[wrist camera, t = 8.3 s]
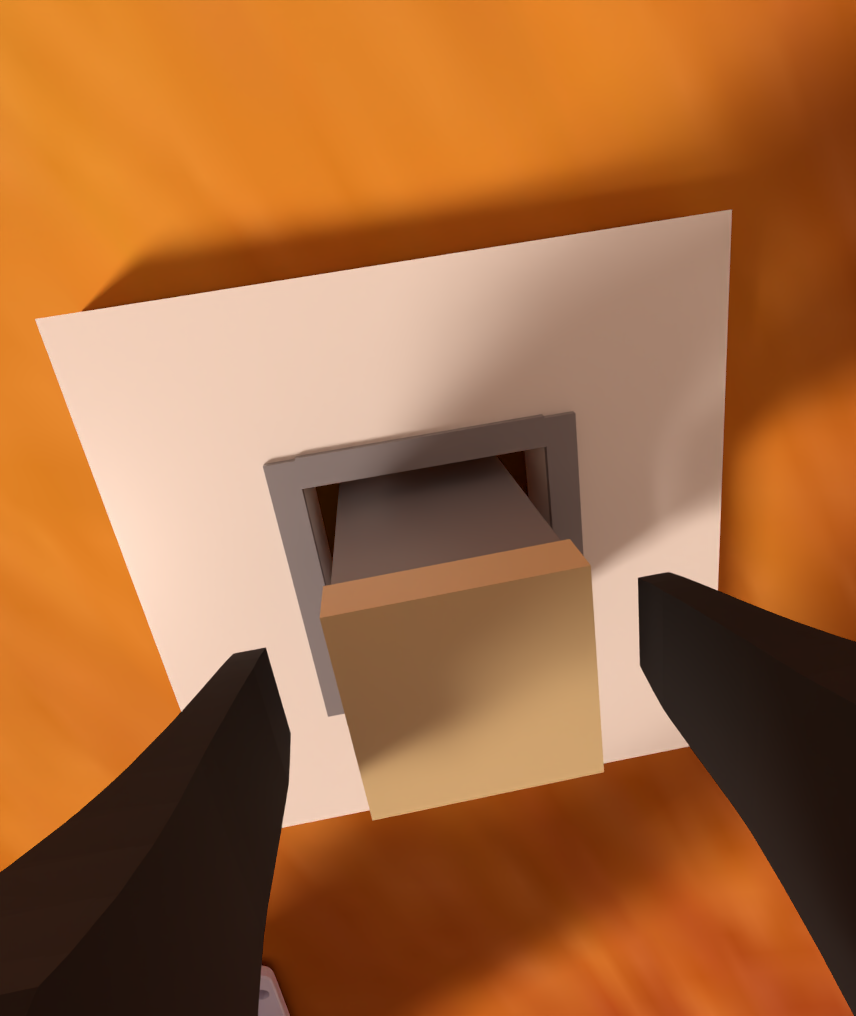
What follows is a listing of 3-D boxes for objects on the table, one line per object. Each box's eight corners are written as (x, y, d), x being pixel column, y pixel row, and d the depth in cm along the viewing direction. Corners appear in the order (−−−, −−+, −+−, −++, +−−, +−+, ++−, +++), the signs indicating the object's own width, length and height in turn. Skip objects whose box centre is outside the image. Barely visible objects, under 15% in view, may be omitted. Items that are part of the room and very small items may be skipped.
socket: (678, 697, 19) (715, 746, 17) (241, 782, 19) (227, 844, 17) (683, 217, 14) (737, 208, 12) (79, 312, 14) (30, 319, 12)
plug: (511, 585, 17) (604, 772, 11) (366, 613, 17) (372, 820, 11) (495, 445, 16) (590, 565, 9) (335, 474, 16) (319, 618, 9)
